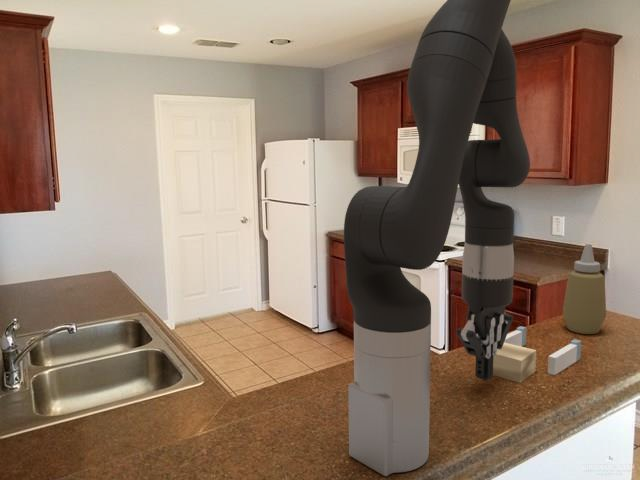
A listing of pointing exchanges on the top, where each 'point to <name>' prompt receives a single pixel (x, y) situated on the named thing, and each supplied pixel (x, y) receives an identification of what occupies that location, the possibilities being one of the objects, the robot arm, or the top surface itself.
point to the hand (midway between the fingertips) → (484, 377)
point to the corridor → (555, 360)
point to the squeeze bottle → (585, 295)
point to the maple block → (514, 362)
